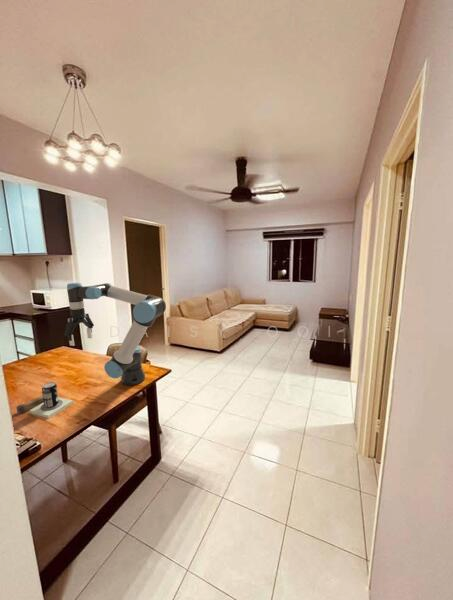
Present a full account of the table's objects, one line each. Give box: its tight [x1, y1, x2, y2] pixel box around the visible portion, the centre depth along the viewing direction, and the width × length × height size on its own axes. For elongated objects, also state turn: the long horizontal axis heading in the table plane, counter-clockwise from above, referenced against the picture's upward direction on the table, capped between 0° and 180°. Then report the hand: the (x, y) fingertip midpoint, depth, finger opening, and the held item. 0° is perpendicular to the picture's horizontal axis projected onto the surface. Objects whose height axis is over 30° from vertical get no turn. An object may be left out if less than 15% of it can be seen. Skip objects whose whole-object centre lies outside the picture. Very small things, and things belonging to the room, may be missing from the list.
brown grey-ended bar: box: [16, 394, 44, 415], centre depth 138 cm, size 15×3×4 cm, turn 150°
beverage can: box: [41, 381, 59, 408], centre depth 135 cm, size 7×7×12 cm
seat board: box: [29, 396, 74, 419], centre depth 137 cm, size 14×14×2 cm
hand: (81, 341), depth 154 cm, fingers open, 13 cm apart
